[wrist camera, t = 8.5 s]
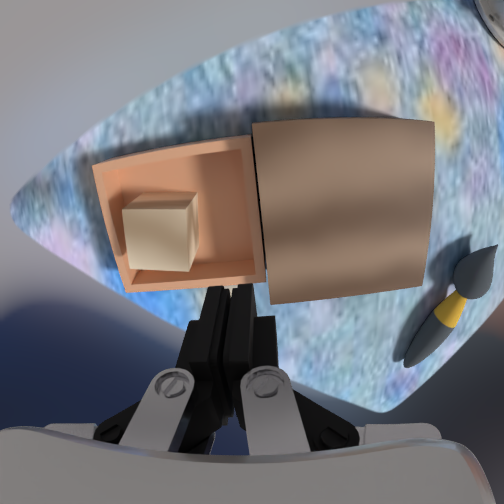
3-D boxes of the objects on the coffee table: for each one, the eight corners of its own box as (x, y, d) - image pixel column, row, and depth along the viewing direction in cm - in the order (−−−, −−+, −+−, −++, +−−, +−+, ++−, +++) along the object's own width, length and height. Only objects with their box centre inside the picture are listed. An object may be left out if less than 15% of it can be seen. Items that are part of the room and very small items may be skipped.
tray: (111, 157, 25) (91, 165, 22) (251, 134, 25) (250, 137, 21) (139, 272, 30) (126, 292, 27) (264, 260, 30) (266, 282, 26)
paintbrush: (421, 361, 37) (434, 386, 32) (394, 360, 36) (406, 386, 32) (489, 236, 29) (513, 254, 24) (464, 226, 28) (490, 244, 24)
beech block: (185, 209, 21) (197, 192, 26) (121, 209, 21) (143, 192, 26) (189, 271, 24) (199, 245, 28) (129, 268, 23) (147, 244, 28)
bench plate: (252, 122, 24) (251, 123, 19) (400, 118, 24) (434, 121, 18) (267, 269, 30) (270, 304, 25) (397, 256, 29) (422, 285, 24)
